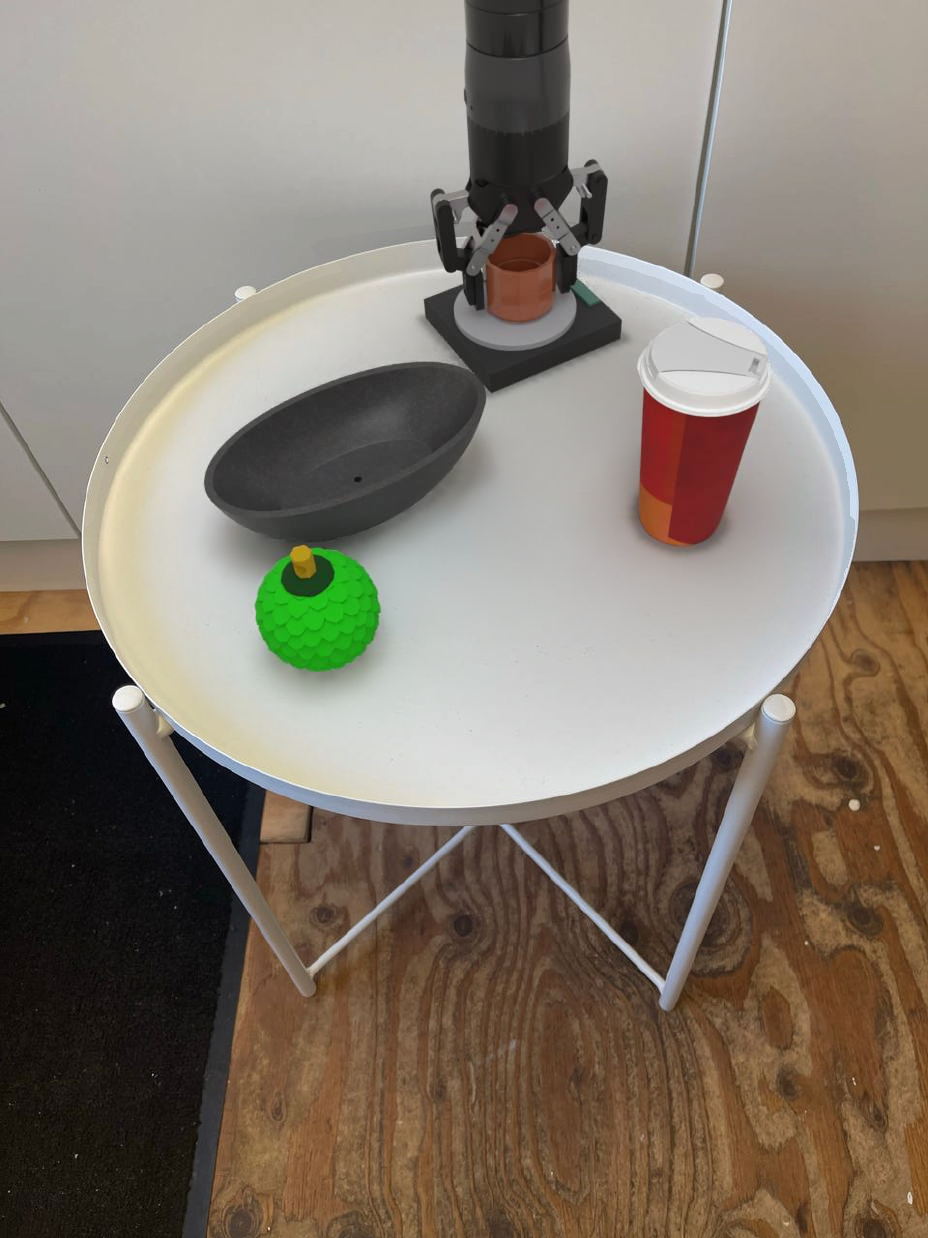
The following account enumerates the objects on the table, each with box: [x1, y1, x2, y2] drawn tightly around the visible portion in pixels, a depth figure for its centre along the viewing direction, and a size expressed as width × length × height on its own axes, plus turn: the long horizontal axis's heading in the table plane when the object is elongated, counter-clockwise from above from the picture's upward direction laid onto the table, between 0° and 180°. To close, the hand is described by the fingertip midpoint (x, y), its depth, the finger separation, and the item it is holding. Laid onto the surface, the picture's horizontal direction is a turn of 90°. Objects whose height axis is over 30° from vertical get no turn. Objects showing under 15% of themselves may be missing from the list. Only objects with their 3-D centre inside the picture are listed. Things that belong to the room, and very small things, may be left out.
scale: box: [423, 277, 623, 394], centre depth 85 cm, size 13×12×3 cm
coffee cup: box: [636, 317, 773, 547], centre depth 66 cm, size 8×8×15 cm
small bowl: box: [481, 232, 557, 322], centre depth 82 cm, size 6×6×5 cm
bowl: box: [203, 361, 487, 543], centre depth 73 cm, size 12×22×6 cm, turn 120°
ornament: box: [254, 544, 382, 673], centre depth 63 cm, size 8×8×10 cm
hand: (520, 295), depth 83 cm, fingers open, 7 cm apart
